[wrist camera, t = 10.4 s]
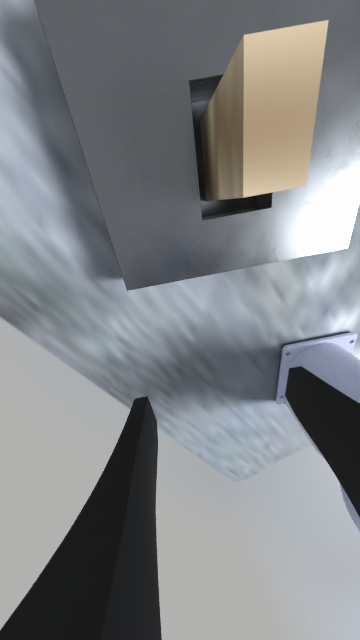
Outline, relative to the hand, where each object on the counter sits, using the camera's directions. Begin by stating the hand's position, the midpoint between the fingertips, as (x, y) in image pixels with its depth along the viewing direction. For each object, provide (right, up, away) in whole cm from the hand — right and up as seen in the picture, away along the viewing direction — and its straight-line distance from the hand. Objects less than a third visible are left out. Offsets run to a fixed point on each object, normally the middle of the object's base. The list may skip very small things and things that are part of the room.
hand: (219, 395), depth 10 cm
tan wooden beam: (+1, +14, +3) cm, 15 cm away
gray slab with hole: (+1, +14, +3) cm, 15 cm away
